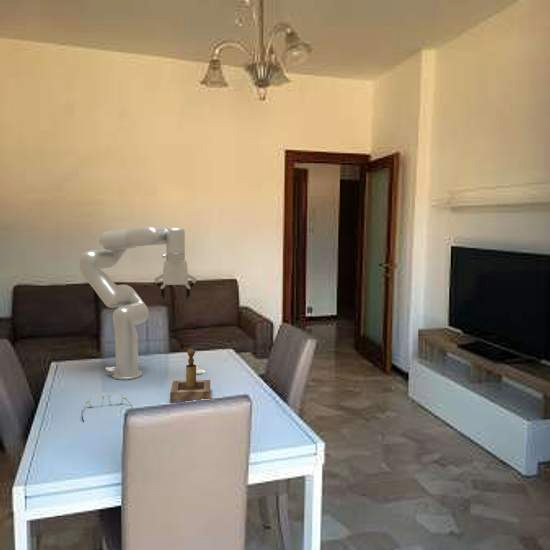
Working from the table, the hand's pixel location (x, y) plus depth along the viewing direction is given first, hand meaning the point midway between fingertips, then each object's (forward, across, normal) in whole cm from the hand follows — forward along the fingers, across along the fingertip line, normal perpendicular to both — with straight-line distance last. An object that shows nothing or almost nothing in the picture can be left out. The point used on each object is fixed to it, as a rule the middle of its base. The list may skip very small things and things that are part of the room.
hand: (175, 298), depth 216 cm
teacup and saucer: (+37, +6, +14) cm, 40 cm away
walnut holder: (+36, +7, -18) cm, 41 cm away
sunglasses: (+37, -22, -33) cm, 54 cm away
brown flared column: (+36, +7, -17) cm, 40 cm away
